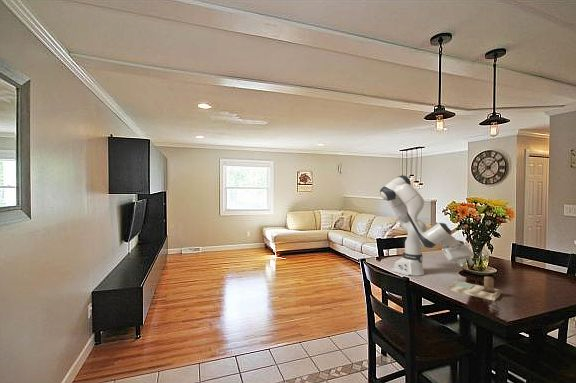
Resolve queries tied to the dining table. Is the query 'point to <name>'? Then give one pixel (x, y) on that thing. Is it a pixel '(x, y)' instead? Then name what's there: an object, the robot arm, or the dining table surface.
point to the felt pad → (464, 285)
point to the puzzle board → (476, 291)
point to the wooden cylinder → (489, 284)
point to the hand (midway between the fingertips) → (467, 264)
